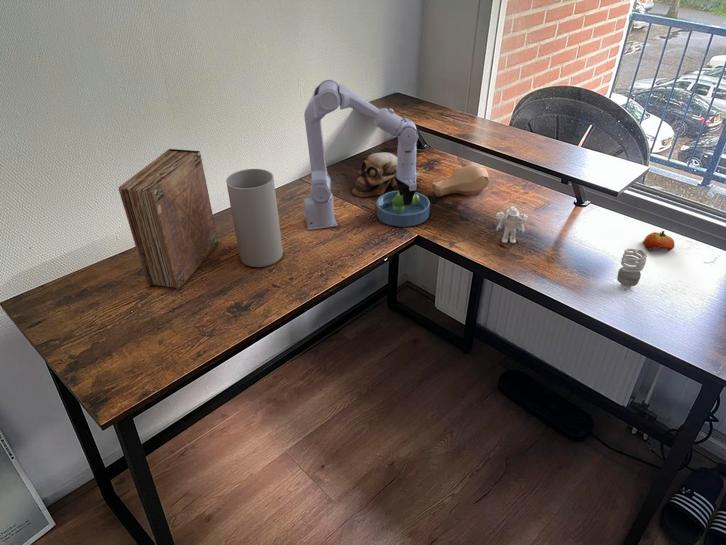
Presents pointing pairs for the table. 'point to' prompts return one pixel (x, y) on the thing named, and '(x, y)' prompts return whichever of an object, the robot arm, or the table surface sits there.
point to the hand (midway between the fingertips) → (405, 201)
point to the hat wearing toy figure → (511, 222)
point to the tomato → (658, 241)
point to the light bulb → (631, 268)
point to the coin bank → (376, 175)
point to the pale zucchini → (398, 209)
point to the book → (170, 217)
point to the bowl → (408, 216)
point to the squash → (463, 181)
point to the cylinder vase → (255, 216)
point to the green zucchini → (399, 202)
